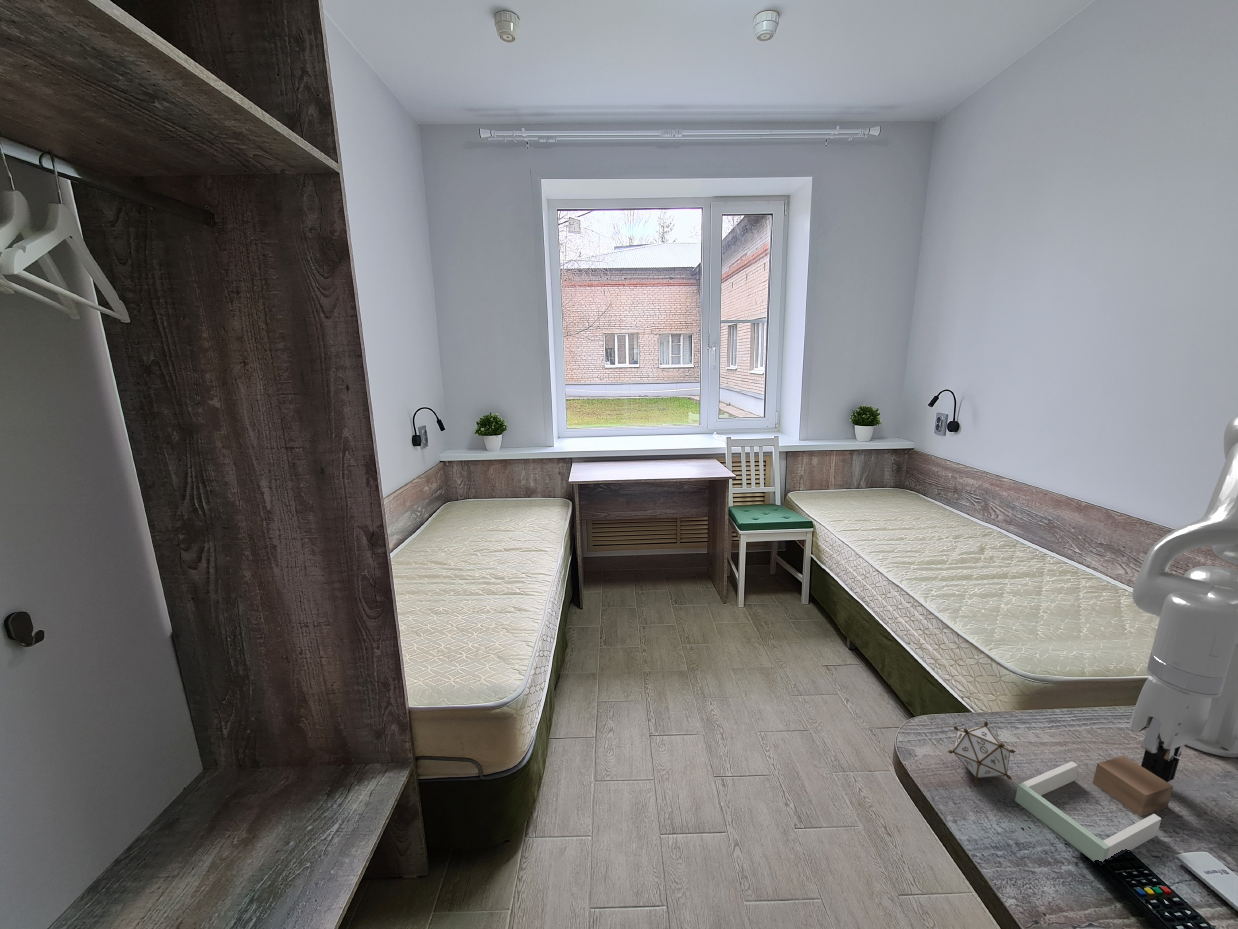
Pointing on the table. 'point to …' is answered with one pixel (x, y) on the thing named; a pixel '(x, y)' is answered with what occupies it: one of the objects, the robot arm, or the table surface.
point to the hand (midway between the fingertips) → (1156, 773)
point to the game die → (981, 752)
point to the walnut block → (1132, 785)
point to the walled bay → (1069, 828)
